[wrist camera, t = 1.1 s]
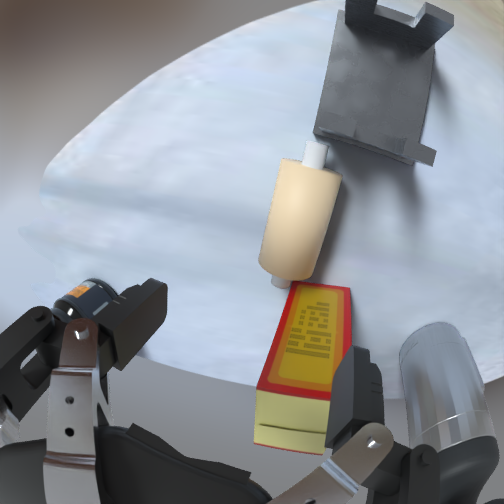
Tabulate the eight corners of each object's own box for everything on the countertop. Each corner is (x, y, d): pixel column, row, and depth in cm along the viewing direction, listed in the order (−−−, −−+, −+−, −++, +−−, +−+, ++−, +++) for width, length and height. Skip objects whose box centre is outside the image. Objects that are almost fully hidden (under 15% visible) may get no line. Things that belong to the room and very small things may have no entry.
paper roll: (294, 136, 25) (279, 133, 20) (349, 151, 24) (348, 152, 19) (264, 263, 32) (245, 286, 27) (310, 280, 30) (300, 306, 25)
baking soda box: (293, 280, 31) (255, 390, 17) (349, 287, 29) (350, 404, 15) (286, 342, 35) (252, 446, 21) (335, 349, 33) (321, 458, 19)
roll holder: (432, 44, 17) (462, 16, 9) (409, 164, 23) (440, 176, 15) (338, 13, 18) (337, -29, 11) (313, 133, 24) (305, 129, 17)
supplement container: (78, 276, 43) (31, 309, 32) (112, 274, 40) (59, 313, 29) (100, 325, 47) (61, 361, 36) (136, 329, 43) (94, 373, 32)
